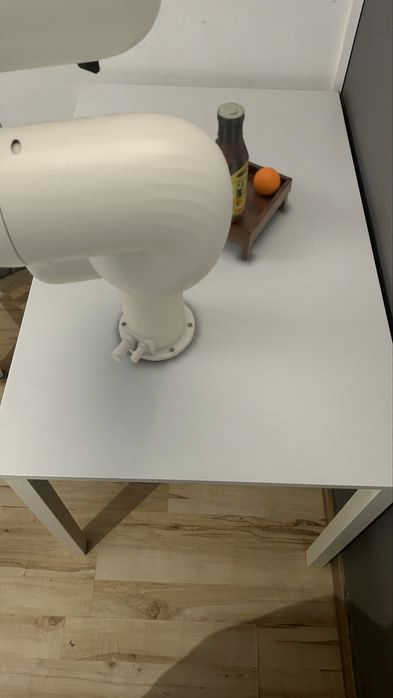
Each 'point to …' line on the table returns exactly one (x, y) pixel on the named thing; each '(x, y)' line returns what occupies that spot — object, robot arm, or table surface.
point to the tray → (257, 210)
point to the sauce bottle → (234, 152)
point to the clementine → (266, 181)
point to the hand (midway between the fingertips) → (112, 50)
